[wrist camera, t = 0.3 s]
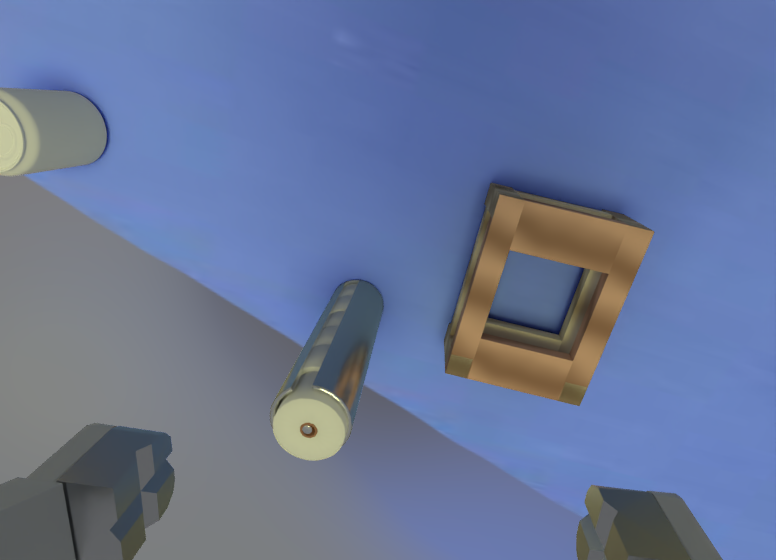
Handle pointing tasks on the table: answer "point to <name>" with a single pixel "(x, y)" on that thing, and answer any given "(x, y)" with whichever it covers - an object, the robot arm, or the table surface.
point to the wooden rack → (585, 315)
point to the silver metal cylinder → (329, 375)
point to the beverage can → (47, 131)
